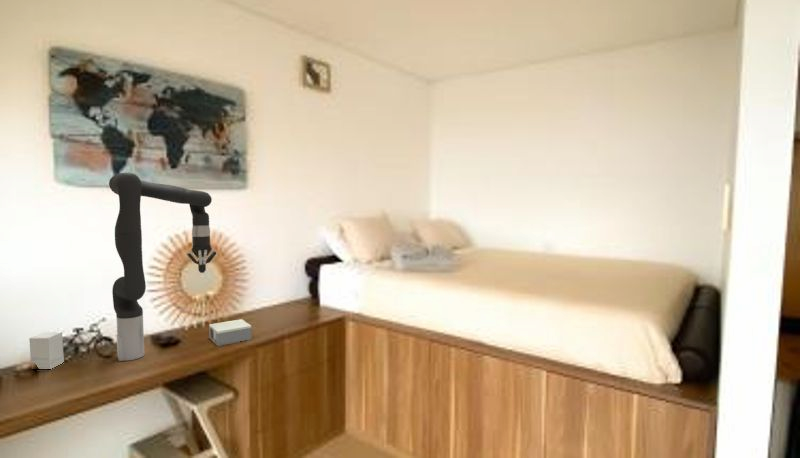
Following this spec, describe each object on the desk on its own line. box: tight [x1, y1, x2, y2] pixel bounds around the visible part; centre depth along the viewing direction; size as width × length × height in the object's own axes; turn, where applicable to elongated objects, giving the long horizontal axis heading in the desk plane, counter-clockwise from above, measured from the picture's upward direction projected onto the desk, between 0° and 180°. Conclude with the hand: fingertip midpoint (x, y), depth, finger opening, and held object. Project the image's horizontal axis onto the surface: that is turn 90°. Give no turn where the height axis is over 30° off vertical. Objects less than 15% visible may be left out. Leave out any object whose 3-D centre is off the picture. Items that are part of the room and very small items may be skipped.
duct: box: [208, 326, 253, 347], centre depth 204 cm, size 15×13×5 cm
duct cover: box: [208, 318, 252, 334], centre depth 204 cm, size 15×13×1 cm
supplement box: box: [28, 331, 65, 370], centre depth 169 cm, size 7×7×13 cm
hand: (202, 272), depth 203 cm, fingers closed
